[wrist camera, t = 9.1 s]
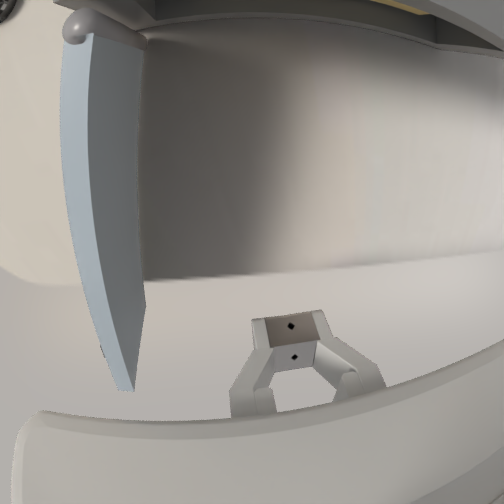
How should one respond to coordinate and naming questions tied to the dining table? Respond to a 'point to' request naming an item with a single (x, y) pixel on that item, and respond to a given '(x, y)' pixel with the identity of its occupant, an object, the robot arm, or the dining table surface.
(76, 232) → the side door
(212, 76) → the dining table surface
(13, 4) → the phone
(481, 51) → the box
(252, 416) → the robot arm
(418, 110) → the dining table surface
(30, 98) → the dining table surface
